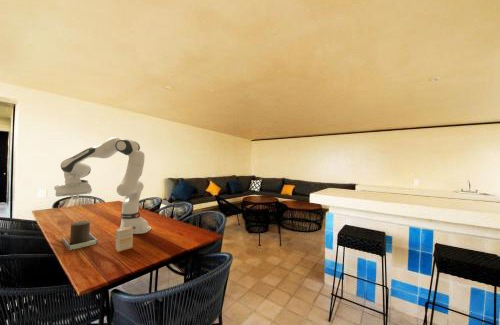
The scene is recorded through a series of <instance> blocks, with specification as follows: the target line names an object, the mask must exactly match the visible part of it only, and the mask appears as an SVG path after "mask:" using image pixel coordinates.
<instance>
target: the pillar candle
mask: <svg viewBox="0 0 500 325" xmlns="http://www.w3.org/2000/svg"><path fill="white" fill-rule="evenodd" d="M90 227H91V221H90V220H82V221H81V220H80V221H75V222H72V223H70V234H69V245H75V244H79V243H84V242H88V241H90V238H89V233H90V234H91V232H90V229H91V228H90Z"/></svg>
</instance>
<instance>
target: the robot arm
mask: <svg viewBox="0 0 500 325" xmlns="http://www.w3.org/2000/svg"><path fill="white" fill-rule="evenodd" d="M118 152H119V153H121V154H123V155H125V156H128V162H127V165H126V170H125V174H124V176H123V178H122V179H121V182H120V184H119V185H117V187H116V193H117V194H118V195H119V196H121V197H124V200H123V202H122V203H121V204H122V205H121V214H120V215H121V216H120V220H121V222H120V226H119V229H120V228H124V227H129V226H130V227H132V228H133V235H138V234H145V233H148V232H149V231H150V230H152V227H151V226H150V225H149V223H148V221H147V220H146V219H145V218H143V217H142V216H141V214H142V212H139V204H140V203H139V202H140V198H141V193H142V191H143V190H144V188H145V187H144V183H143V182H142V181H140V180H139V179H140V178H141V176H142V175H143V170H144V165H145V158H146V156H145V153H144V152H143V151H142V150H141V146H140V144H139V143H138V142H137V141H134V140H131V139H126V138H122V139H121V138H119V137H117V136H113V137H110V138H108V139H107V140H105V141H104V142H102V143H101V144H99V145H97V146H93V147H92V146H91V147H88V148H86V149H84V150H82V151H80V152H79V153H76V154H75V155H73V156H72V157H68V158H66V159H65V160H63V161H62V162H61V163H60V168H61V170H62V172H63V177H64V184H57V185H55V186H54V190H55V196H56V197H58V198H59V197H68V196H70V198H71V199H72V200H73V201H75V200H79V196H80V195H89V194H91V193H92V191H93V190H92V186H91V185H90V183H89V181H88V180H85V179H83V178H85V177H87V176H88V175H90V173H91V171H92V169H91V166H90V165H88V164H86V163H84V162H83V161H85V160H86V159H89V158H90V159H91V158H98V159H109V158H111V157H112V156H114V155H115V154H116V153H118Z"/></svg>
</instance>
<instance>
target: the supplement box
mask: <svg viewBox="0 0 500 325" xmlns="http://www.w3.org/2000/svg"><path fill="white" fill-rule="evenodd" d="M133 236H134V234H133V228H132V227H130V226H129V227H124V228H120V227H119V228H117V229H115V251H116V252H118V253H120V252H123V251H126V250H130V249H133V243H134V242H133V240H134V239H133Z"/></svg>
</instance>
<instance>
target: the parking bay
mask: <svg viewBox="0 0 500 325" xmlns="http://www.w3.org/2000/svg"><path fill="white" fill-rule="evenodd" d="M61 241H62V243H63V244H64V246H65V247H66V249H67V250H68V251H72V249H73V250H76V249H81V248H85V247H88V246H93V245H97V244H98V239H97V238H96V237H95V236H93V234H92V233H91V232H90V233H89V241H88V242H84V243H79V244H75V245H70V242H68V241H67V239H66V238H65V237H64V236H63V237H62V239H61Z"/></svg>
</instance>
